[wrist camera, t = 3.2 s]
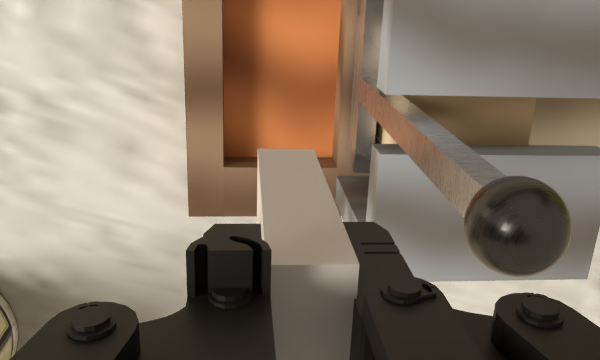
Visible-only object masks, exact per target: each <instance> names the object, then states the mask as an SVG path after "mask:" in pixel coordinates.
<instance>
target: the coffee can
mask: <svg viewBox="0 0 600 360" xmlns="http://www.w3.org/2000/svg"><path fill="white" fill-rule="evenodd" d="M17 343H18V330H17V324H16V320H15V317H14V315H13V312H12V310H11V308H10V306H9V304H8V303H7V302H6V301H5V299H4V298H3V297H2V296H1V295H0V360H10V359H11V358H12V357H13V356H14V355H15V353H16V347H17Z"/></svg>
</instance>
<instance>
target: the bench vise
mask: <svg viewBox="0 0 600 360" xmlns="http://www.w3.org/2000/svg"><path fill="white" fill-rule="evenodd" d="M182 11H183V43H184V76H185V108H186V140H187V172H188V205H189V216H257V163H258V149H314V151H315V154H316V156H317V159H318V161H319V164H320V166H321V169H322V171H323V174H324V176H325V179H326V181H327V184H328V186H329V189H330V191H331V194H332V197H333V199H334V202H335V204H336V207H337V209H338V212H339V214H340V216H342V218H343V221H344V222H375V223H377V224H378V225H380V226H381V227H383V228H384V229H386V230H387V231H389V233H390V235H391V237H392V238H393V240H394V242H395V245H396V246H397V247H398V249H399V251H400V254H402V256H403V258H404V260H405V261H406V263H407V265H408V267H409V269H410V270H411V272H412V274H413V276H414V277H416V278H420V279H424V280H425V281H427V282H433V281H495V280H558V279H587V277H588V273H589V269H590V265H591V260H592V256H593V252H594V248H595V243H596V239H597V235H598V231H599V226H600V0H384V8H383V20H382V32H381V44H380V56H379V68H378V80H377V88H378V89H380V90H381V91H382V92H383V93H384V94H385V95H434V96H489V97H537V100H536V105H535V111H534V116H533V122H532V127H531V133H530V139H529V144H528V145H467V146H468V147H470V148H471V149H472V150H473V151H475V152H476V153H477V154H479V155H480V156H481V157H482V158H484V159H485V160H486V161H488V162H489V163H490V164H491V165H493V166H494V167H495V168H497V169H498V170H499V171H501V172H502V173H503V174H504V175H506V176H526V177H531V178H534V179H537V180H540V181H542V182H543V183H545V184H547V185H549V186H550V187H551V188H553V189H554V190H555V191H556V192H557V193H558V194H559V195H560V196H561V198H562V199H563V200H564V202H565V203H566V205H567V207H568V210H569V212H570V216H571V221H572V235H571V240H570V244H569V246H568V249H567V250H566V252H565V254H564V255H563V257H562V258H561V259H560V260H559V261H558V262H557V263H556V264H555V265H554V266H553V267H551V268H550V269H548V270H546V271H545V272H542V273H540V274H537V275H534V276H529V277H510V276H505V275H502V274H499V273H496V272H494V271H492V270H490V269H489V268H487V267H486V266H484V265H483V264H482V263H481V262H480V261H479V260H478V259H477V258H476V257H475V256H474V254H473V253H472V251H471V250H470V248H469V246H468V243H467V241H466V238H465V233H464V217H463V216H462V215H461V214H460V213H459V212H458V211H457V209H456V208H455V207H454V206H453V205H452V204H451V203H450V202H449V201H448V199H447V198H446V197H445V196H444V195H443V194H442V193H441V192H440V191H439V189H438V188H437V187H436V186H435V185H434V184H433V183H432V182H431V181H430V179H429V178H428V177H427V176H426V175H425V174H424V173H423V172H422V171H421V169H420V168H419V167H418V166H417V165H416V164H415V163H414V162H413V161H412V159H411V158H410V157H409V156H408V155H407V154H406V153H405V152H404V151H403V150H402V148H401V147H400V146H399V145H398V144H381V143H380V141H379V140H378V139H377V138H376V136H375V144H372V152H371V164H370V173H353V171H352V169H351V167H350V165H349V164H348V162H347V158H348V144H349V129H350V115H351V100H352V85H353V71H354V56H355V42H356V27H357V13H358V0H182Z"/></svg>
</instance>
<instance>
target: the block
mask: <svg viewBox="0 0 600 360" xmlns="http://www.w3.org/2000/svg"><path fill="white" fill-rule="evenodd" d="M402 96H404V97H405V98H406V99H408V100H409V101H410V102H411V103H413V104H414V105H415V106H417V107H418V108H419V109H420V110H422V111H423V112H424V113H426V114H427V115H428V116H430V117H431V118H432V119H433V120H435V121H436V122H437V123H439V124H440V125H441V126H442V127H444V128H445V129H446V130H448V131H449V132H450V133H451V134H453V135H454V136H455V137H457V138H458V139H459V140H461V141H462V142H463V143H464V144H466V145H528V144H529V139H530V133H531V127H532V122H533V116H534V111H535V105H536V100H537V97H489V96H434V95H402ZM375 136H376V138H377V139H378V140H379V141H380V143H381V144H397V143H396V142H395V141H394V140H393V138H392V137H391V136H390V135H389V134H388V133H387V132H386V131H385V130H384V128H383V127H382V126H381V125H380V124H379V123H378V122H377V121H376V132H375Z"/></svg>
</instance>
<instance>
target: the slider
mask: <svg viewBox="0 0 600 360" xmlns="http://www.w3.org/2000/svg"><path fill="white" fill-rule="evenodd" d="M383 8H384V0H358V13H357V27H356V42H355V56H354V71H353V85H352V100H351V115H350V129H349V144H348V158H347V162H348V164H349V165H350V167H351V169H352V171H353V173H370V164H371V152H372V144H375V132H376V121H377V122H378V123H379V124H380V125H381V126H382V127H383V128H384V130H385V131H386V132H387V133H388V134H389V135H390V136H391V137H392V138H393V140H394V141H395V142H396V143H397V144H398V145H399V146H400V147H401V148H402V150H403V151H404V152H405V153H406V154H407V155H408V156H409V157H410V158H411V159H412V161H413V162H414V163H415V164H416V165H417V166H418V167H419V168H420V169H421V171H422V172H423V173H424V174H425V175H426V176H427V177H428V178H429V179H430V181H431V182H432V183H433V184H434V185H435V186H436V187H437V188H438V189H439V191H440V192H441V193H442V194H443V195H444V196H445V197H446V198H447V199H448V201H449V202H450V203H451V204H452V205H453V206H454V207H455V208H456V209H457V211H458V212H459V213H460V214H461V215H462V216H463V217H464V233H465V238H466V241H467V243H468V246H469V248H470V250H471V251H472V253H473V254H474V256H475V257H476V258H477V259H478V260H479V261H480V262H481V263H482V264H483V265H484V266H486V267H487V268H489V269H490V270H492V271H494V272H496V273H499V274H502V275H505V276H510V277H529V276H534V275H537V274H540V273H542V272H545V271H546V270H548V269H550V268H551V267H553V266H554V265H555V264H556V263H557V262H558V261H559V260H560V259H561V258H562V257H563V255H564V254H565V252H566V250H567V249H568V246H569V244H570V240H571V235H572V221H571V216H570V212H569V210H568V207H567V205H566V203H565V202H564V200H563V199H562V198H561V196H560V195H559V194H558V193H557V192H556V191H555V190H554V189H553V188H551V187H550V186H549V185H547V184H545V183H543V182H542V181H540V180H537V179H534V178H531V177H526V176H506V175H504V174H503V173H502V172H501V171H499V170H498V169H497V168H495V167H494V166H493V165H491V164H490V163H489V162H488V161H486V160H485V159H484V158H482V157H481V156H480V155H479V154H477V153H476V152H475V151H473V150H472V149H471V148H470V147H468V146H467V145H466V144H464V143H463V142H462V141H461V140H459V139H458V138H457V137H455V136H454V135H453V134H451V133H450V132H449V131H448V130H446V129H445V128H444V127H442V126H441V125H440V124H439V123H437V122H436V121H435V120H433V119H432V118H431V117H430V116H428V115H427V114H426V113H424V112H423V111H422V110H420V109H419V108H418V107H417V106H415V105H414V104H413V103H411V102H410V101H409V100H408V99H406V98H405V97H404V96H402V95H385V94H384V93H383V92H382V91H381V90H380V89H378V88H377V80H378V68H379V56H380V44H381V32H382V20H383Z"/></svg>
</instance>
